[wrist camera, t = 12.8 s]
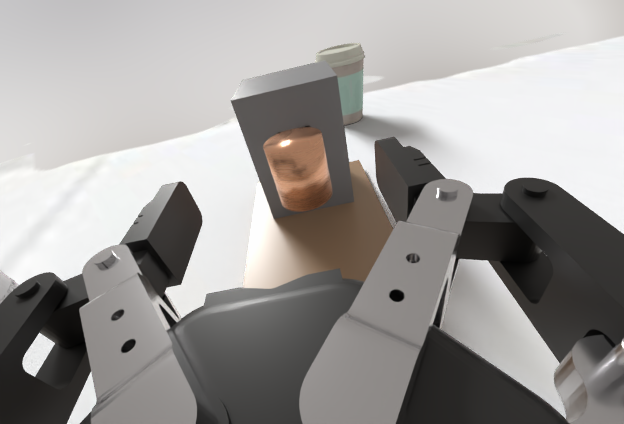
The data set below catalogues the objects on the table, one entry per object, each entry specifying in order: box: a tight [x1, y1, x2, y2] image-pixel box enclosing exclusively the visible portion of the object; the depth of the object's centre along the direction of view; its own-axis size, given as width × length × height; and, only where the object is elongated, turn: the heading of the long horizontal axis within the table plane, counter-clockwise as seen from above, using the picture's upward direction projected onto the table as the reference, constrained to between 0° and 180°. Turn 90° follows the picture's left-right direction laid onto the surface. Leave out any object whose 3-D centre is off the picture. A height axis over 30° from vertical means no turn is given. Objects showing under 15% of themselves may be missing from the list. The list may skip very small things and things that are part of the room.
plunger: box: [263, 126, 333, 212], centre depth 26 cm, size 14×4×5 cm, turn 3°
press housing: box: [231, 60, 393, 289], centre depth 25 cm, size 23×14×14 cm, turn 3°
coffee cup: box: [315, 43, 365, 125], centre depth 50 cm, size 8×9×12 cm
